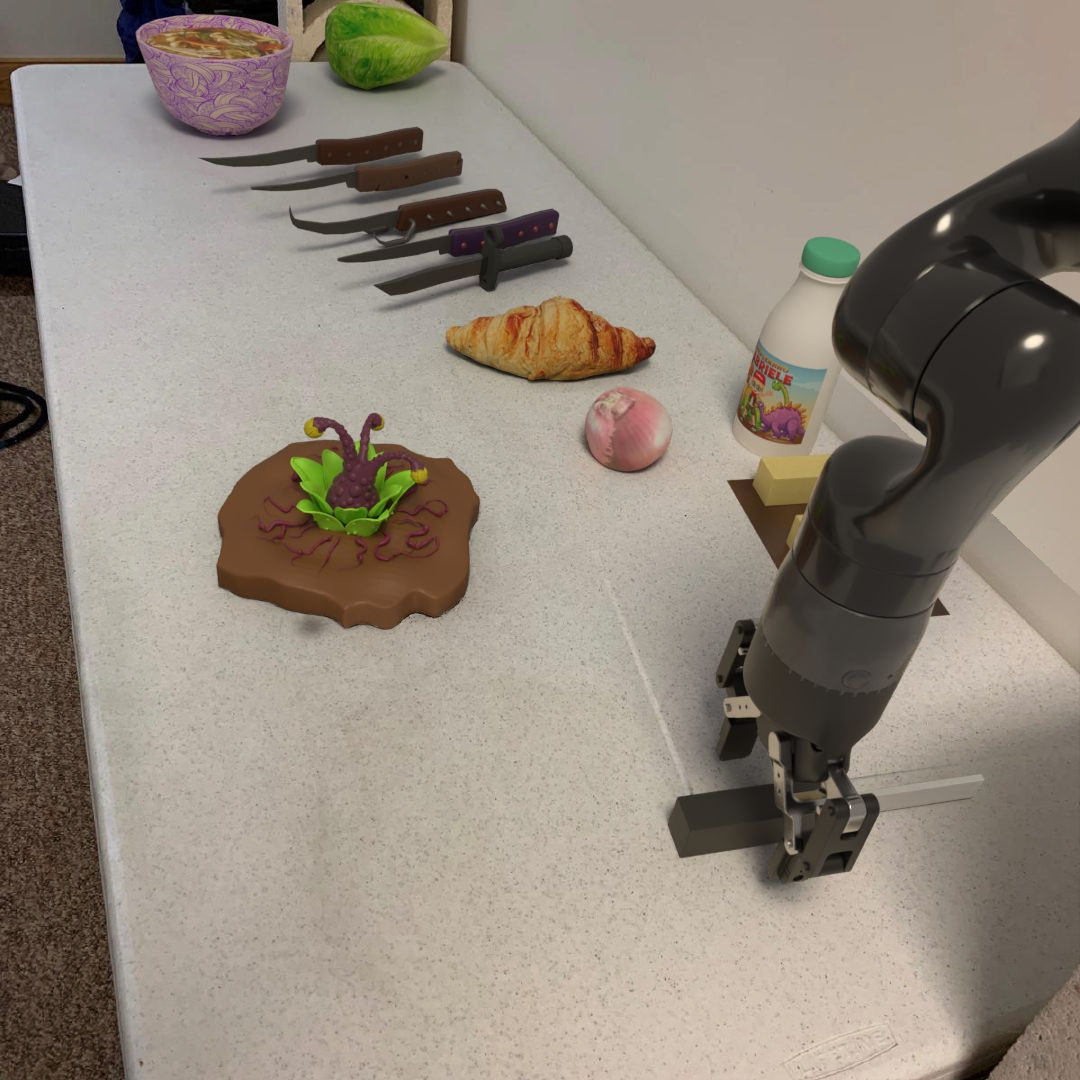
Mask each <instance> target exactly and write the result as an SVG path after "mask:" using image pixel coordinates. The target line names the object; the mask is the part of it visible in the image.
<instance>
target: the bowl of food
mask: <svg viewBox="0 0 1080 1080" xmlns="http://www.w3.org/2000/svg"><path fill="white" fill-rule="evenodd" d="M135 36H136V42H137V44H138V47H139V50H140V52H141V55H142V57H143V60H144V63H145V66H146V69H147V71H148V75H149V77H150V79H151V83H152V85H153V87H154V90H155V92H156V94H157V96H158V99H159V101H160V103H161V104H162V105H163V107H164V108H165V110H167V111H168V113H170V114H171V115H172V116H173V117H174V118H175V119H177V120H179V121H181V122H182V123H184V124H186V125H189V126H191V127H193V128H195V129H196V130H198V131H199V132H201V133H204V134H207V135H211V136H218V135H236V136H242V135H246V134H248V133H251V132H252V131H254V129H255V128H259V127H260V126H263V125H264V124H265V123H267V122H268V121H270V120H272V119H273V118H275V116H276V115H277V113H278V112H279V110H280V108H281V106H282V105H283V102H284V98H285V95H286V91H287V85H288V79H289V72H290V67H291V62H292V56H293V51H294V50H293V49H294V43H295V42H294V39H293V38H292V36H291V34H290V33H288V32H287V31H285V29H282V28H281V27H278V26H277V25H274V24H270V23H267V22H264V21H260V20H256V19H251V18H247V17H240V16H231V15H223V14H222V15H221V14H187V15H174V16H173V15H172V16H168V17H162V18H158V19H154V20H152V21H149V22H146V23H144V24H141V26H140V27H139V28H138V29H137V30H136V31H135Z"/></svg>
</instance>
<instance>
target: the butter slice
mask: <svg viewBox="0 0 1080 1080" xmlns="http://www.w3.org/2000/svg"><path fill="white" fill-rule="evenodd" d="M831 454H832V453H828V454H826V453H824V454H809V455H804V456H785V457H767V458H762V457H760V460H759V463H758V466H757V469H756V472H755V475H754V478H753V479H754V481H753V486H754V488H755V490H756V491H757V493H758V495H759V496H760V498H761V500H762V501H763V503H764V505H765V506H774V505H789V504H804V503H808V501H809V499H810V496H811V494H812V491H813V489H814V486H815V484H816V481H817V479H818V476H819V474H820V472H821V470H822V468H823V466H824V464H825V462H826V461H827V459H828V458H829V457H830V456H831Z"/></svg>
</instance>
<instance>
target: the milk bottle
mask: <svg viewBox="0 0 1080 1080" xmlns="http://www.w3.org/2000/svg"><path fill="white" fill-rule="evenodd" d="M800 258H801V259H800V261H799V263H798V268H799V273H798V275H797V277H796V279H795V280H794V282H793V284H792V285H791V287H790V288H789V289H788V290H787V292H786V293H785V294H784V295H783V296H782V297H781V298H780V300H778V301H777V303H776V304H775V305H774V306H773V308H772V309H771V311H770V312H769V314H768V316H767V317H766V319H765V322H764V323H763V325H762V328H761V331H760V334H759V336H758V339H757V343H756V345H755V348H754V351H753V354H752V358H751V362H750V365H749V368H748V372H747V375H746V379H745V382H744V386H743V388H742V392H741V395H740V396H741V397H740V399H739V403H738V407H737V410H736V413H735V417H734V420H733V424H732V428H731V429H732V432H731V433H732V435H733V437H734V439H735V441H736V442H737V443H738V444H739V445H740V446H741V447H742V448H743V449H744V450H746V451H747V452H749V453H750V454H753V455H754V456H757V457H759V458H767V457H785V456H804V455H811V453H812V451H813V449H814V447H815V444H816V441H817V438H818V436H819V433H820V430H821V428H822V425H823V422H824V419H825V417H826V414H827V411H828V408H829V405H830V402H831V400H832V397H833V394H834V391H835V388H836V386H837V383H838V379H839V377H840V374H841V371H842V369H843V367H842V365H841V364H840V362H839V361H838V359H837V357H836V355H835V353H834V350H833V346H832V321H833V317H834V313H835V309H836V306H837V303H838V301H839V298H840V296H841V294H842V292H843V290H844V288H845V286H846V284H847V283H848V281H849V280H850V278H851V277H852V275H853V274H854V272H855V271H856V269H857V268H858V267H859V265H860V261H861V251H860V250H859V249H858V248H857V247H856V246H855V245H853V244H852V243H850V242H848V241H845V240H843V239H839V238H836V237H831V236H815V237H812V238H810V239H808V240H807V241H806V243H805V244H804V246H803V249H802V253H801V256H800Z"/></svg>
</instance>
